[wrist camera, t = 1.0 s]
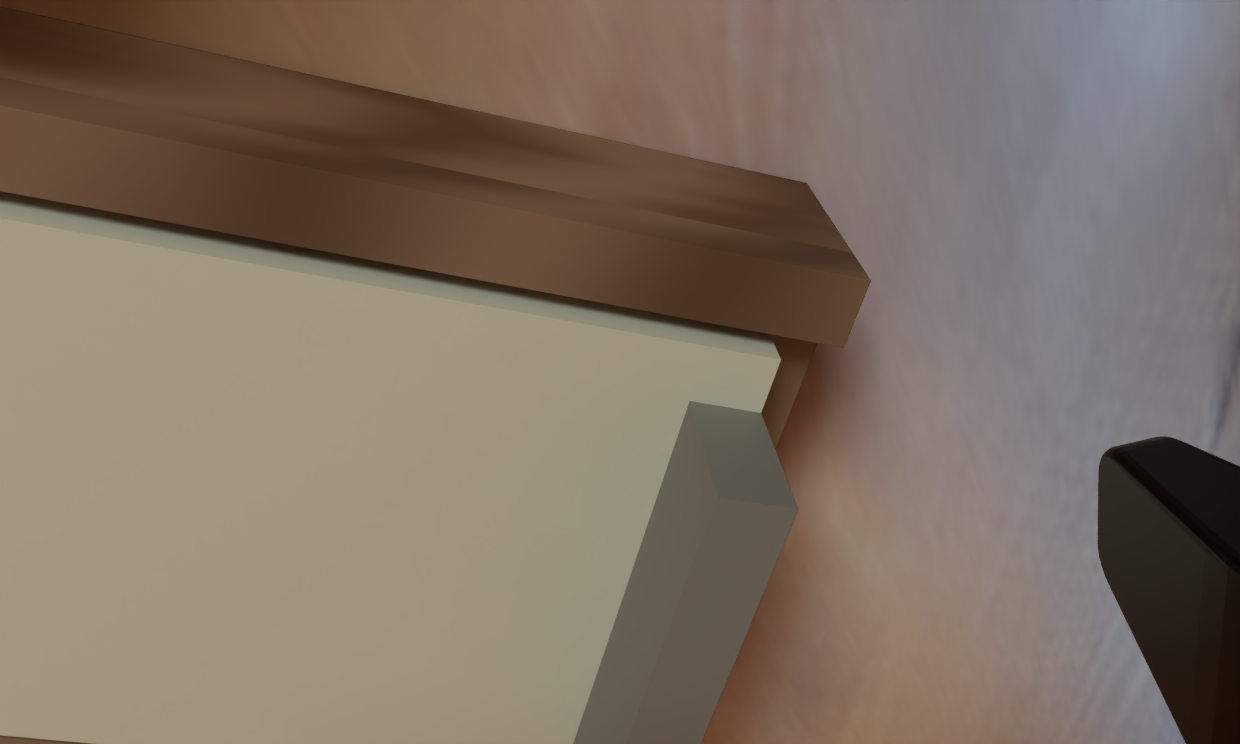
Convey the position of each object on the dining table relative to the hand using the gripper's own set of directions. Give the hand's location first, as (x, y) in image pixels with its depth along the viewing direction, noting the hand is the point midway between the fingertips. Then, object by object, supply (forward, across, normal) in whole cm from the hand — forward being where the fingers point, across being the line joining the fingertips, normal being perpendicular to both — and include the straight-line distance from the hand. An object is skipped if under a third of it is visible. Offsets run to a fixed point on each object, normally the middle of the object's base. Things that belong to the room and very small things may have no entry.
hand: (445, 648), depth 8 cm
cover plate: (+10, +5, +6) cm, 13 cm away
